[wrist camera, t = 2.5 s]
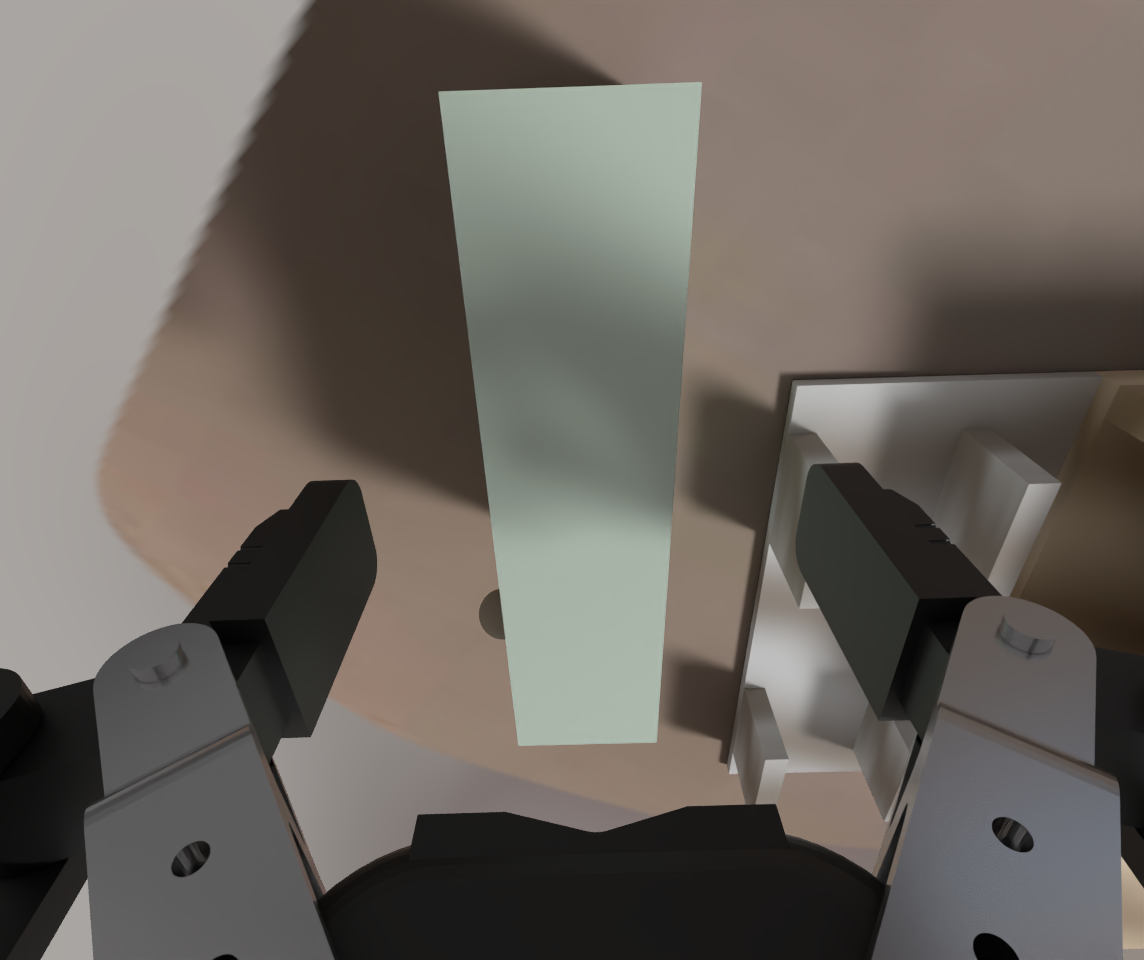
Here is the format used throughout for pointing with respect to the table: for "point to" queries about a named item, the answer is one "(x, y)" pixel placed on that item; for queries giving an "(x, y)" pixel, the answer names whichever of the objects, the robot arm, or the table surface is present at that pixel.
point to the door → (577, 382)
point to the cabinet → (972, 522)
